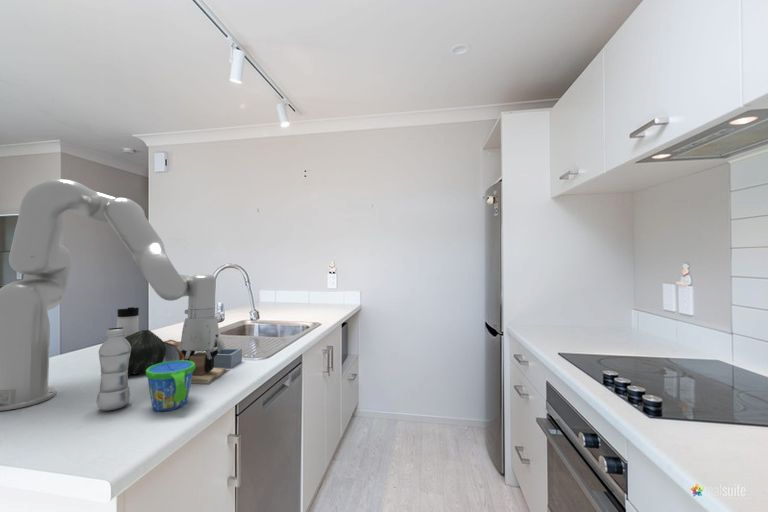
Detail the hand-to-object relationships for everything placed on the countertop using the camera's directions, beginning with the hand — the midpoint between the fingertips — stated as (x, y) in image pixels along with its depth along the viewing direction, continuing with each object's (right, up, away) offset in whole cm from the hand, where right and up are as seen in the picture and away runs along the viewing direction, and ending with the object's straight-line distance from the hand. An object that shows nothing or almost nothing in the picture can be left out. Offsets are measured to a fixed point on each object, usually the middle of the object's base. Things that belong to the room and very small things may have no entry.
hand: (200, 370), depth 103 cm
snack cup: (+4, -2, -20) cm, 21 cm away
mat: (0, -2, 0) cm, 2 cm away
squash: (-23, -3, +4) cm, 24 cm away
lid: (0, -2, 0) cm, 2 cm away
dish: (+2, -3, +12) cm, 12 cm away
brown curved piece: (-17, -3, +12) cm, 21 cm away
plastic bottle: (-9, -2, -22) cm, 24 cm away
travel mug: (-36, -3, +15) cm, 39 cm away
